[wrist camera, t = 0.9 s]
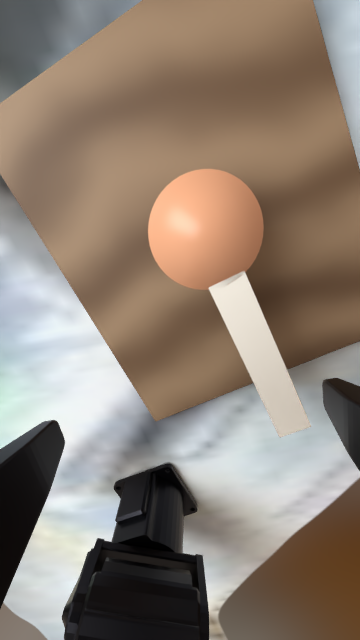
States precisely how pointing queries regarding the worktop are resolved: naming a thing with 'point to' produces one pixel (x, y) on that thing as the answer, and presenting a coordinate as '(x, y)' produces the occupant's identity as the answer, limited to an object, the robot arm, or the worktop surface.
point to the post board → (185, 156)
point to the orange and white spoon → (225, 273)
